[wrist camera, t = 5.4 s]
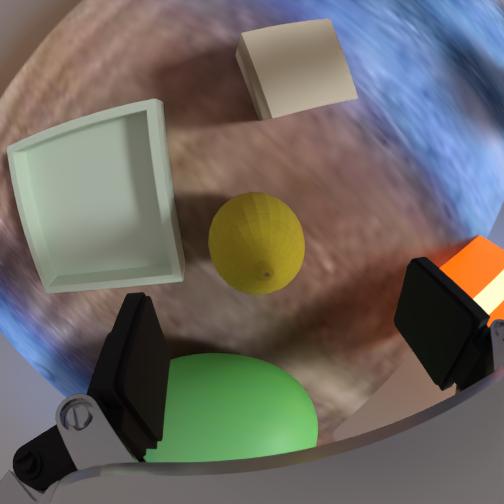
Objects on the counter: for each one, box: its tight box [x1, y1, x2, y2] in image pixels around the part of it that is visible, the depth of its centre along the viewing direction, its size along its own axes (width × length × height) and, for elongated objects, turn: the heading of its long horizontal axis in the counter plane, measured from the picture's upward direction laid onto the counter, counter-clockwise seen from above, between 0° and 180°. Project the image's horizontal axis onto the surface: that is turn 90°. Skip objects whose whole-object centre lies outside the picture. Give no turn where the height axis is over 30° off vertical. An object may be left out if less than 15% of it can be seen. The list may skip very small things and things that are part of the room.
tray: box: [7, 98, 186, 293], centre depth 17 cm, size 12×12×2 cm
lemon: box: [208, 192, 305, 295], centre depth 17 cm, size 6×6×8 cm
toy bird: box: [144, 353, 318, 462], centre depth 21 cm, size 18×17×15 cm
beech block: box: [235, 19, 358, 121], centre depth 14 cm, size 5×5×5 cm
